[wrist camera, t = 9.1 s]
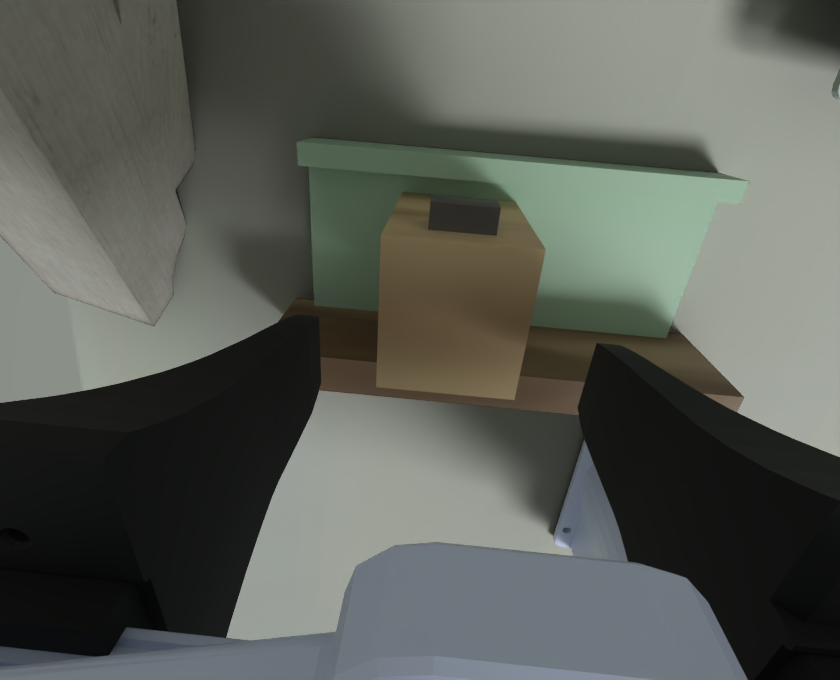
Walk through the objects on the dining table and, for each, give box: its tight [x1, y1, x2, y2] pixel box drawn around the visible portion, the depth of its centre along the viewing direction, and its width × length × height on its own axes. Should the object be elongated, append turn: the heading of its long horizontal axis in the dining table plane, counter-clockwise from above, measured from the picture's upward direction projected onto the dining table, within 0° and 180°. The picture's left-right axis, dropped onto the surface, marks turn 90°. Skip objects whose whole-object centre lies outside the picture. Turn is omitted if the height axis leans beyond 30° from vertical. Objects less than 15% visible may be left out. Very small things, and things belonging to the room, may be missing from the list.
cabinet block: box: [376, 192, 546, 400], centre depth 16 cm, size 6×4×6 cm
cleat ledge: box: [297, 137, 749, 338], centre depth 19 cm, size 7×16×2 cm, turn 86°
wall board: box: [279, 298, 744, 415], centre depth 19 cm, size 2×18×5 cm, turn 85°
